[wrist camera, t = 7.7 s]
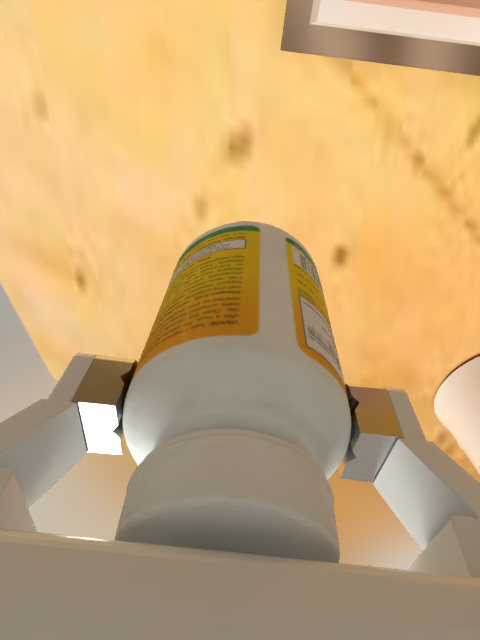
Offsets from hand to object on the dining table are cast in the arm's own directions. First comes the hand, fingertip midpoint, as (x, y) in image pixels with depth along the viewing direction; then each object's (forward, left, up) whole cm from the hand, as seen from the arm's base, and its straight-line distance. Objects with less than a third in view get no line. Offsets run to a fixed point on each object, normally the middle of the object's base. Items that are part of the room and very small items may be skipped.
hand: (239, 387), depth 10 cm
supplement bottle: (0, 0, -6) cm, 6 cm away
